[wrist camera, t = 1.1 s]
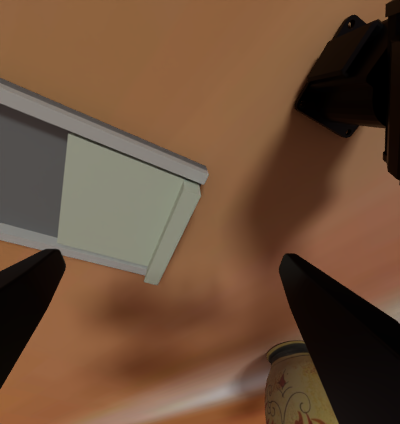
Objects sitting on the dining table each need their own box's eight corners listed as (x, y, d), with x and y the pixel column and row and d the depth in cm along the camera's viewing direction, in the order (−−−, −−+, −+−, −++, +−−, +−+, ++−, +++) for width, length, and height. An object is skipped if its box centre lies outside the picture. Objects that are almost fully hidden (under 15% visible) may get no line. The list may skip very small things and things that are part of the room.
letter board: (205, 166, 19) (208, 174, 16) (161, 262, 25) (158, 278, 22) (-75, 45, 13) (-133, 32, 11) (-44, 207, 19) (-76, 221, 17)
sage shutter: (198, 182, 18) (200, 195, 15) (160, 264, 23) (157, 285, 20) (73, 132, 15) (49, 137, 12) (61, 238, 20) (42, 258, 17)
